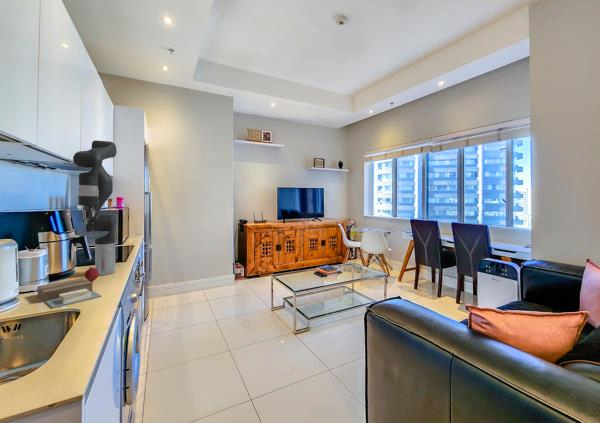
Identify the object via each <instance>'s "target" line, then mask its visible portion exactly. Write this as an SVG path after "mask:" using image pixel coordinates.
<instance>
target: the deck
mask: <svg viewBox="0 0 600 423" xmlns="http://www.w3.org/2000/svg"><path fill="white" fill-rule="evenodd" d="M82 289H87V290H89V291H93V281H92V282H91V281H89V280H87V279H86V278H85V277H81V278H76V279H75V278H74V279H70V280H65V281H60V282H55V283H49V284H43V285H42V284H41V285H38V286H37V296H38V297H39V298H40V299H41V300H42V301H43V302H45V301H48V300H53V299H57V298H59V294H63V293H68V292H73V291H77V290H82ZM45 303H46V302H45Z"/></svg>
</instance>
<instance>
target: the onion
mask: <svg viewBox="0 0 600 423" xmlns="http://www.w3.org/2000/svg"><path fill="white" fill-rule="evenodd" d="M99 276H100V275H99V272H98V270H97V269H95V267H93V265H91V266H90V267H89V269H86V271H85V272H84V279H86V280H88V281H90V282H92V283H93V282H94V281H95V280H97V279H98V278H99Z"/></svg>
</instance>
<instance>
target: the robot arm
mask: <svg viewBox="0 0 600 423" xmlns="http://www.w3.org/2000/svg"><path fill="white" fill-rule="evenodd" d="M116 155H117V145H116V144H115V143H114V142H112V141H110V140H109V141H107V140H106V141H105V140H93V141H92V142H91V148H90V149H89V150H81V151H76V152H75V153H74V154H73V157H72V161H73V164H74V165H76V166H77V167H79V168H89V169H90V171H85V172H80V173H79V174H78V189H77V190H78V191H77V194H78V197H77V198H78V199H77V200H78V202H77V205H79V206H83V208H82V209H81V210H82V211H81V212H80V214H81V218H82V221H83V223H84V224H85V232H86V233H91V232H107V233H106V234H105V235H102V236H100V237H96V238H95V239H94V253H95V254H94V257H95V258H94V261H95V262H94V266H95V267H94V268H95V269H97V270H98V272H99V276H106V275H107V274H108V275H112V274H114V272H115V273H116V223H117V221H116V216H115V215H113V214H100V212H101V209H102V208H103V206H104V204H105V203H106V202H107V200H109V198H110V197H111V196H112V194H113V191H114V190H113V188H114V187H113V186H114V184H113V179H112V177H111V176H110V174H109V173H108V172H107V170H106V169H105V168H104V166H103V161H104V160H106V159H107V160H108V159H110V158H111V159H113V158H115V157H116ZM111 273H112V274H111Z"/></svg>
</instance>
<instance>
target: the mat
mask: <svg viewBox="0 0 600 423" xmlns="http://www.w3.org/2000/svg"><path fill="white" fill-rule="evenodd" d="M101 297H102V295H101V294H99V293H98V292H96V291H94V290H92V291H91V298H86V299H82V300H78V301H74V302H69V303H65V304H63V303H62V302H61V301H59V298H57V299H53V300H48V301H45V303H46V304H47V305H48V306H49V307H50V308H51V309H52V308H53V309H57V308H60V307H65V306H68V305H72V304H76V303H77V304H78V303H81V302H85V301H90V300H94V299H97V298H98V299H99V298H101ZM56 307H57V308H56Z"/></svg>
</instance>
